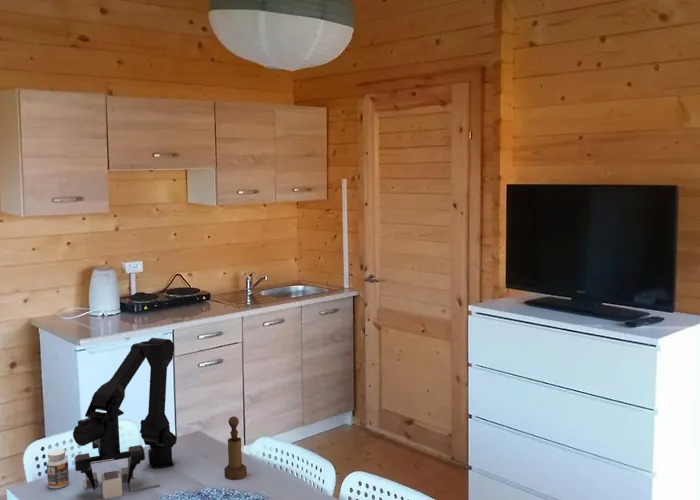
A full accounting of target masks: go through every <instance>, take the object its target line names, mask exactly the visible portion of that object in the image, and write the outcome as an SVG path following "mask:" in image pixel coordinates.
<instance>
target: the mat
mask: <svg viewBox="0 0 700 500" xmlns="http://www.w3.org/2000/svg"><path fill="white" fill-rule="evenodd" d="M128 486H129V489H130V492H136V491H142V490H148V489H152V488H153V489H154V488H157V487H160V481H159V479H158V477H157V474H156V473H155V474H150V475H143V476H138V477H137V476H136V479H135V478H133V479H131V480H130V483H129V484H128Z"/></svg>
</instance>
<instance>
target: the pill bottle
mask: <svg viewBox="0 0 700 500" xmlns="http://www.w3.org/2000/svg"><path fill="white" fill-rule="evenodd" d="M47 458H48V460H47V462H46V473H47V474H46V476H47V486H48V488H51V489H61V488H64V487H66V486H67V485H68V484H69V482H70V480H69V479H70V478H69V475H70V474H69V461H68V458H67V457H66V450H65V449H55V450H51V451H49V452H48V453H47Z"/></svg>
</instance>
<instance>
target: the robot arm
mask: <svg viewBox="0 0 700 500" xmlns="http://www.w3.org/2000/svg"><path fill="white" fill-rule="evenodd" d="M174 353H175V344H174V342H173V341H172V339H168V338H162V337H161V338H160V337H151V338H149V339H148V340H146V341H141V342H135V343H133V344H132V345H131V347H130V351H129V352H128V353H127V354H126V357H125V358H124V359H123V360H122V362H121V364H120V365H119V367H118V368H117V369H116V371H115V373H114V374H113V375H112V376H111V378H110V379H109V380H108V381H107V382H105V383H103V384H101V385H100V387H98V388H97V390H96V391H95V392H94V393H93V395H92V397H91V399H90V400H91V401H90V403H89V406H88V407H87V410H86V411H85V414H84V417H85V418H84V419H81V420H78V421H77V425H76V426H75V427H74V429H73V431H72V437H73V440H74V442H75V443H76V444H77V445H78V446H80V447H84V446H87V445H89V444H91V447H92V449H93V450H95V449H96V450H97V452H98V455H94V456H90V453H89V452H87V453H81V454H76V455H75V456H74V467H75V471H76V472H80V473H81V474H85V477H86V476H87V477H88V479H89V480H90V482H91V485H92V487H93V488H92V489H93V491H96V487H95V481H94V477H93V473H94V472H93V468H92V465H93V464H99V463H100V464H101V463H106V462H111V461H117V460H122V459H125V460H126V459H127V467H128V470H127V482H126V484H127V485H129V483H130V480H131V477H132V474H133V472H135V470H136V467H137V465H139V464H141V462H142V461H144V460H146V456H145V455H146V454H145V449H144V447H143V446H142V445H141V444H139V445H132V446H128V450H126V451H121V444H120V443H121V442H120V441H121V440H120V426H119V423H120V422H119V417H120V416H122V415H124V413H125V412H124V411H123V410H121V409H120V408H121V405H122V403H123V402H124V399H126V389H127V387H128V385H129V384H130V382H131V381H132V379H133V378H134V376H135V375H136V373H137V372H138V370H139V369H140V367H141V366H142V364H143V363H144V361H145V359H146V360H147V362H148V364H149V366H150V371H149V372H150V373H149V390H148V408H147V409H148V413H147V415H146V416H145V418H144V419H141V420H140V429H139V434H140V436H141V437H140V438H141V439H143V443H144V445H145V446H149V449H147V454H148V456H147V457H148V464H149V465H150V466H151V469H159V468H166V467H169V466H174V462H173V451H172V449H173V447H174V445H176V444H177V440H178V438H177V435H176V434H174V433H173V432H171V428H170V421H169V419H168V417H167V415H166V394H167V380H168V379H167V377H168V376H167V374H168V373H167V372H168V366H169V365H170V364H171V362H172V360H173V358H174Z"/></svg>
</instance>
